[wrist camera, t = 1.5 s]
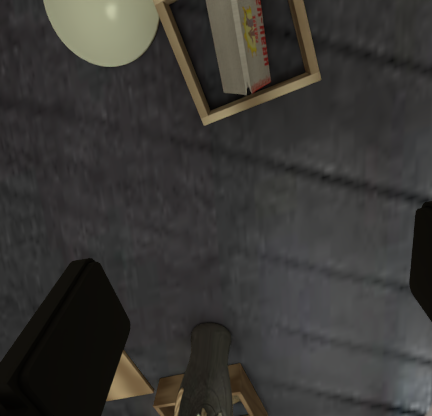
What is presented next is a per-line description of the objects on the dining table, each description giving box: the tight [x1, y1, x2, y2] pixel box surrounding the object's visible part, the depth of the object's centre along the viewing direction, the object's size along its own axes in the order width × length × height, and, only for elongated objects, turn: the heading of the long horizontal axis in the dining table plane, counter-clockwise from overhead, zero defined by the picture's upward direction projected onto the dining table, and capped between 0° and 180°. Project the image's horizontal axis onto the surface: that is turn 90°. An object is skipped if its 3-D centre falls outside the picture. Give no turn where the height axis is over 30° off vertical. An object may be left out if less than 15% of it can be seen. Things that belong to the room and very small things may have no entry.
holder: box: [153, 0, 321, 126], centre depth 27 cm, size 11×11×2 cm
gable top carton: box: [206, 0, 271, 96], centre depth 23 cm, size 4×7×10 cm, turn 13°
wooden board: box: [106, 350, 154, 401], centre depth 52 cm, size 17×15×1 cm
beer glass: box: [173, 323, 233, 416], centre depth 40 cm, size 7×7×15 cm
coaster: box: [43, 0, 160, 67], centre depth 27 cm, size 10×10×1 cm
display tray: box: [153, 363, 268, 416], centre depth 51 cm, size 14×14×4 cm
